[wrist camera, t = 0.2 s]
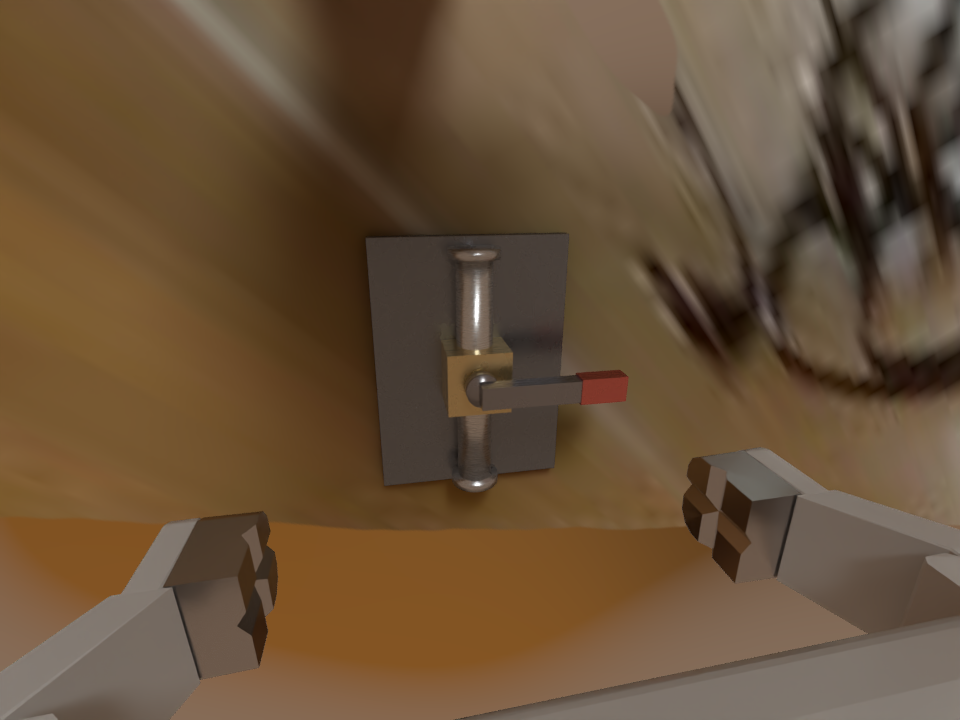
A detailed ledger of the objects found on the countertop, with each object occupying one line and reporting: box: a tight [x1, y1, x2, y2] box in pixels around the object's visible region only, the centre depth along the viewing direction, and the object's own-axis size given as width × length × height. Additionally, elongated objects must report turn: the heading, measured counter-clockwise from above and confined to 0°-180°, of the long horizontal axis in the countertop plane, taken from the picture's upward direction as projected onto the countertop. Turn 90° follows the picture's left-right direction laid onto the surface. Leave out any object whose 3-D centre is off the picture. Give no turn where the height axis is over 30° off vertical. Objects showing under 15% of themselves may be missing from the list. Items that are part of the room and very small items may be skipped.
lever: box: [464, 370, 628, 411], centre depth 52 cm, size 17×4×4 cm, turn 90°
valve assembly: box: [366, 233, 569, 492], centre depth 56 cm, size 30×22×7 cm
